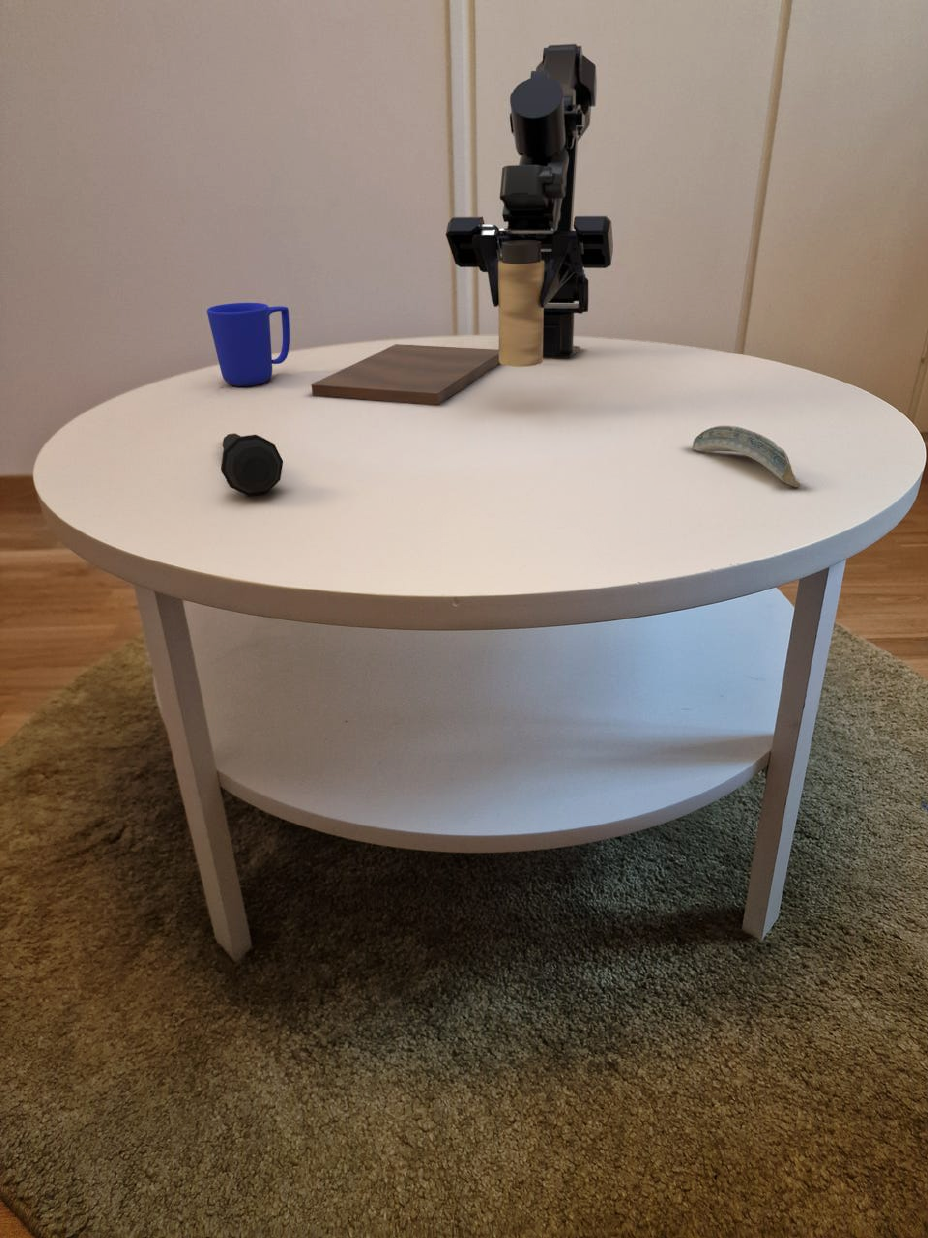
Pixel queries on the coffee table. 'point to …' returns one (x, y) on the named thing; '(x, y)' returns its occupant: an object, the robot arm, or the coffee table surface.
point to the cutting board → (409, 374)
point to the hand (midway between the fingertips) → (518, 304)
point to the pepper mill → (520, 303)
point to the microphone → (251, 464)
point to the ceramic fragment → (747, 449)
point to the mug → (246, 341)
